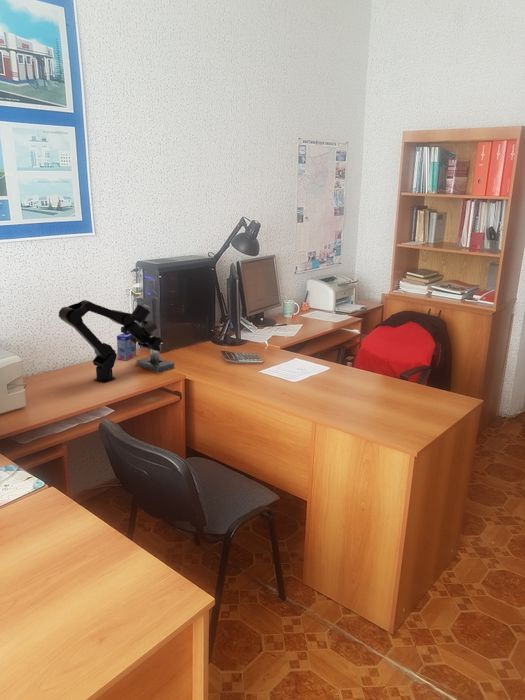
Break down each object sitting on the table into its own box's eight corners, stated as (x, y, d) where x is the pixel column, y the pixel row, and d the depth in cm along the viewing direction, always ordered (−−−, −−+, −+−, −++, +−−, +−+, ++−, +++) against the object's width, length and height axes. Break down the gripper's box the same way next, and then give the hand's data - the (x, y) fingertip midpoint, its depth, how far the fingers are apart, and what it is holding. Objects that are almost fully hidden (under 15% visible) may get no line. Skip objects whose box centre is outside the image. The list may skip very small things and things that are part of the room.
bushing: (155, 365, 261) (154, 338, 257) (149, 363, 262) (148, 337, 259) (161, 363, 264) (160, 336, 260) (154, 361, 266) (153, 335, 262)
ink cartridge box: (127, 360, 271) (125, 332, 267) (117, 359, 273) (115, 331, 269) (137, 355, 280) (135, 327, 276) (127, 354, 282) (126, 326, 278)
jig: (156, 372, 255) (156, 367, 254) (136, 364, 265) (136, 359, 265) (174, 368, 262) (174, 363, 261) (154, 360, 272) (154, 355, 272)
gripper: (158, 320, 248) (178, 339, 258) (134, 313, 260) (154, 332, 271) (144, 340, 244) (165, 359, 255) (120, 332, 257) (141, 350, 267)
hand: (157, 349), depth 262 cm, fingers closed on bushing, 4 cm apart
